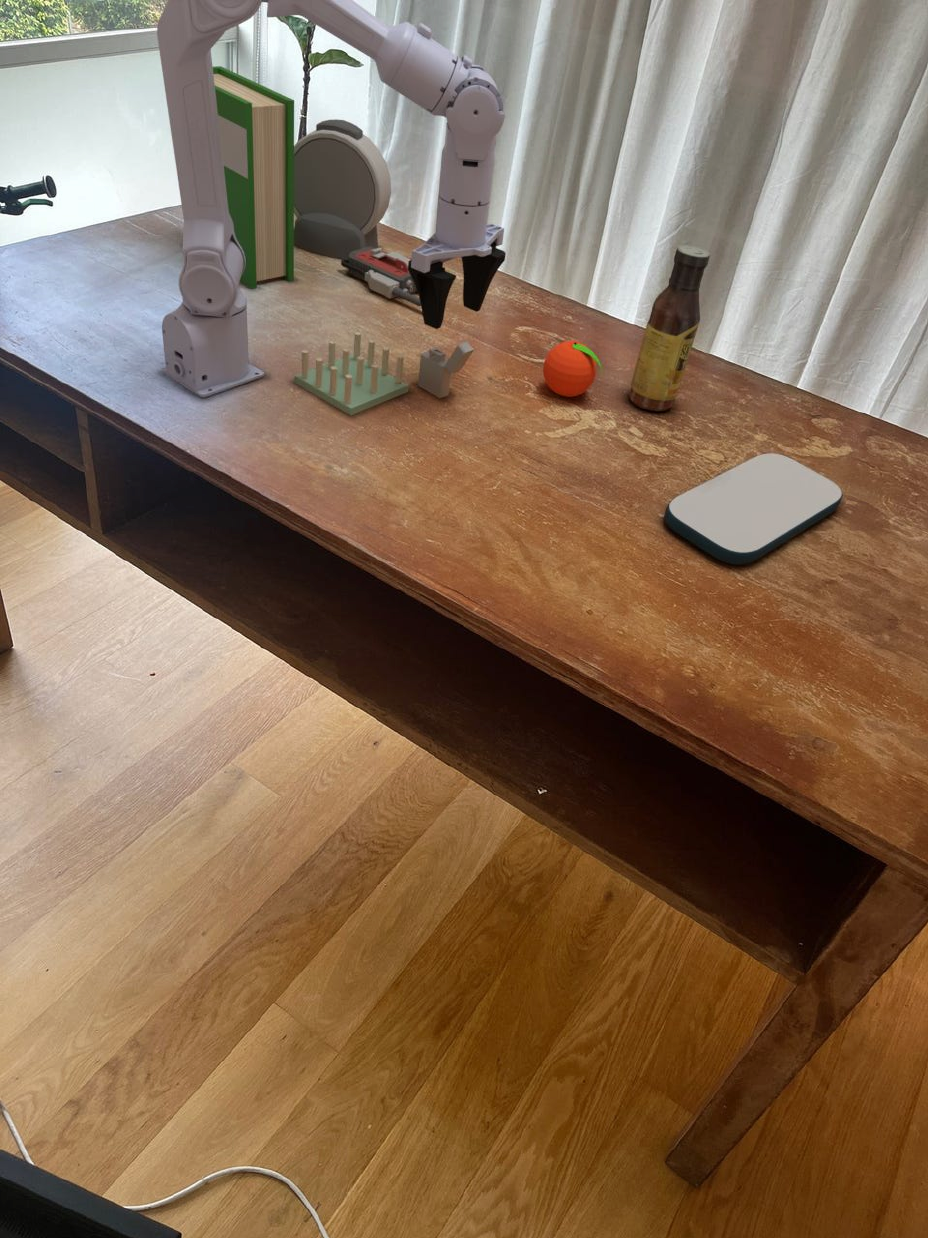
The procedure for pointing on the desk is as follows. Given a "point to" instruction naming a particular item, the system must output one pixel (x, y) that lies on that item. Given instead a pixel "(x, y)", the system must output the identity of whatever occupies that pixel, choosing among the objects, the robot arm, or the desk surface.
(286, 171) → the hardback book
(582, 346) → the clementine
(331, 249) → the alarm clock
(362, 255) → the walkie-talkie
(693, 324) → the sauce bottle
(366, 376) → the dish rack
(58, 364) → the desk surface
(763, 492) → the external hard drive
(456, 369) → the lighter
